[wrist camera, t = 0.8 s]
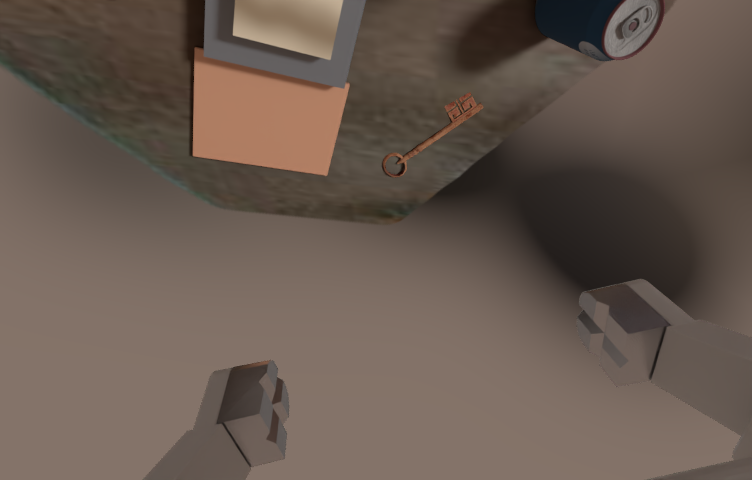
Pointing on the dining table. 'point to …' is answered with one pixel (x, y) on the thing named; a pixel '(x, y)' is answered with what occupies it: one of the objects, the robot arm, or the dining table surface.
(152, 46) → the dining table surface
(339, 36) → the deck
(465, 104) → the key
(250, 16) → the tile
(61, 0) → the dining table surface
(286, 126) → the mat
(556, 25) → the soda can
